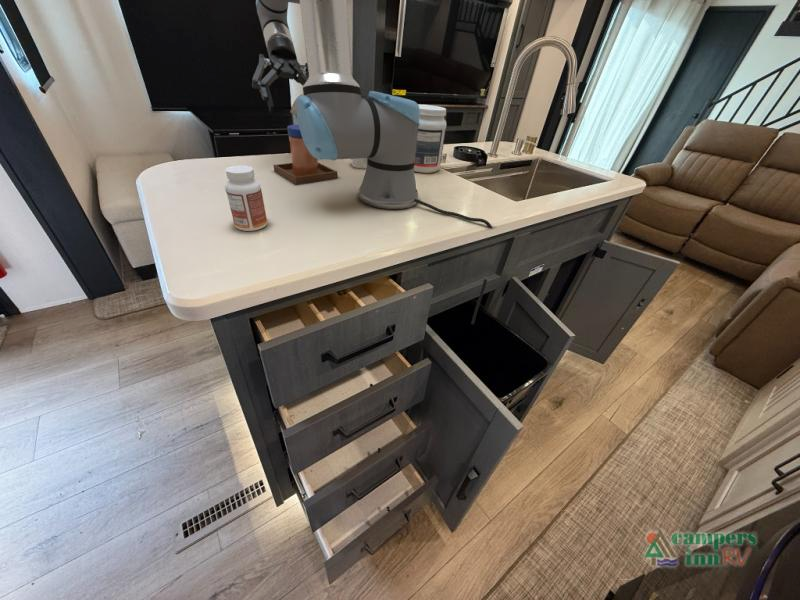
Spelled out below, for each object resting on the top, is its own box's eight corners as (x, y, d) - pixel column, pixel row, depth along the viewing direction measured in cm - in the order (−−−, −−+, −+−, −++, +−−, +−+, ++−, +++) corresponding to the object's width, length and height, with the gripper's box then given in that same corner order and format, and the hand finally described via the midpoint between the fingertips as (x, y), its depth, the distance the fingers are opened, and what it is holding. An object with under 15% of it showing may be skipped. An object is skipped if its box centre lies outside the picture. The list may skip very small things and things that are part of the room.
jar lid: (321, 137, 88) (321, 129, 87) (296, 138, 84) (295, 130, 83) (307, 131, 92) (307, 124, 91) (283, 133, 88) (282, 125, 87)
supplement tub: (411, 161, 117) (417, 102, 106) (444, 168, 113) (454, 108, 102) (396, 168, 108) (400, 105, 96) (431, 176, 104) (440, 111, 93)
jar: (323, 175, 94) (320, 131, 87) (300, 178, 90) (296, 132, 83) (310, 168, 98) (307, 126, 91) (288, 171, 94) (283, 127, 87)
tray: (337, 178, 94) (337, 171, 93) (296, 184, 87) (295, 177, 86) (314, 166, 102) (314, 160, 101) (274, 171, 94) (273, 164, 93)
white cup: (376, 165, 109) (378, 132, 103) (369, 170, 103) (369, 136, 97) (355, 161, 111) (355, 129, 105) (346, 166, 104) (345, 132, 98)
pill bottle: (265, 217, 69) (256, 163, 62) (269, 230, 64) (259, 173, 58) (234, 220, 67) (220, 164, 60) (235, 233, 62) (221, 174, 55)
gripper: (320, 67, 101) (336, 126, 98) (232, 50, 89) (248, 118, 86) (325, 45, 94) (344, 108, 92) (231, 24, 82) (249, 96, 79)
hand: (297, 113), depth 89 cm, fingers open, 13 cm apart
